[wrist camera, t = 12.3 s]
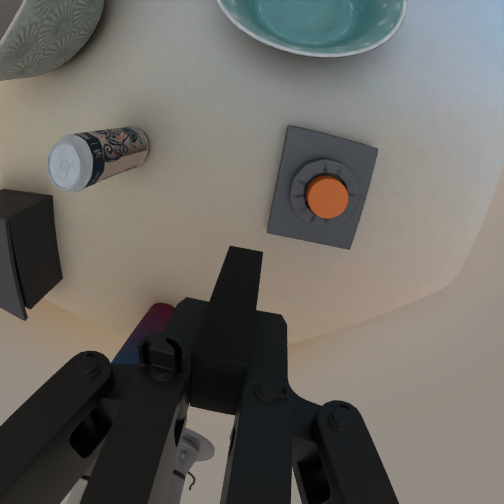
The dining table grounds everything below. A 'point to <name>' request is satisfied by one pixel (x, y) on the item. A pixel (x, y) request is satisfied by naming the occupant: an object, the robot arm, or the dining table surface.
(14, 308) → the dark grey square slab
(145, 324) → the cup
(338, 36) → the bowl
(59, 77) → the dining table surface
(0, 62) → the planter
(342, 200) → the button
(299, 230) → the control block
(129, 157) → the beer can
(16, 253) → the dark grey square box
